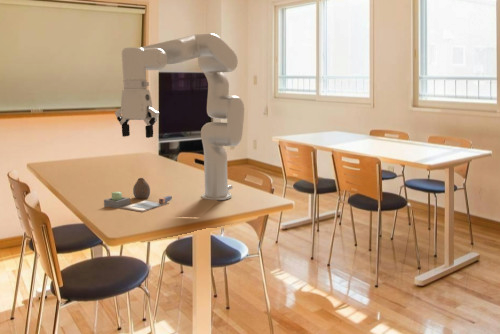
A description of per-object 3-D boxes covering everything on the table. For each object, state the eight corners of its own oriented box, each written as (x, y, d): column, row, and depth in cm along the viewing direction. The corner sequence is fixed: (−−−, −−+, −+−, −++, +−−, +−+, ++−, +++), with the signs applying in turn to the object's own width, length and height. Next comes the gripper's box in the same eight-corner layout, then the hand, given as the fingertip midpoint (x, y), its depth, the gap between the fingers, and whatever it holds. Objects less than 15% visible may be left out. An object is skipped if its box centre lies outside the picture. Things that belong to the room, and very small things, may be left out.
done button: (117, 200, 199) (116, 191, 199) (124, 201, 197) (123, 192, 197) (110, 202, 196) (109, 193, 196) (117, 203, 194) (116, 194, 194)
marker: (168, 199, 207) (168, 195, 207) (171, 199, 207) (172, 195, 207) (158, 203, 197) (159, 198, 197) (163, 203, 197) (163, 199, 197)
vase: (134, 201, 205) (132, 180, 203) (133, 197, 211) (132, 177, 210) (151, 200, 207) (150, 179, 205) (149, 196, 213) (148, 176, 212)
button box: (117, 203, 202) (117, 196, 201) (130, 205, 198) (129, 198, 198) (104, 207, 196) (103, 199, 195) (117, 209, 192) (116, 201, 192)
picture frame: (146, 201, 205) (145, 199, 204) (168, 204, 198) (168, 202, 198) (119, 209, 192) (119, 207, 192) (142, 213, 186) (142, 211, 186)
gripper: (163, 85, 166) (165, 136, 169) (121, 85, 173) (124, 134, 176) (149, 85, 160) (152, 139, 163) (106, 85, 167) (110, 137, 170)
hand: (137, 136), depth 169 cm, fingers open, 9 cm apart
